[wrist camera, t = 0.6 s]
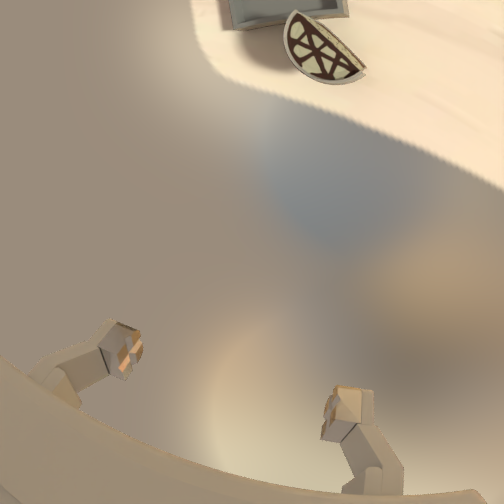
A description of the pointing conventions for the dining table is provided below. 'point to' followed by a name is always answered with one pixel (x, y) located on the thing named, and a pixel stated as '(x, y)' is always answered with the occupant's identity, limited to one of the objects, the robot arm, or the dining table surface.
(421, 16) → the dining table surface
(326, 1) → the bin
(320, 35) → the ice cream cake half
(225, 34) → the dining table surface
